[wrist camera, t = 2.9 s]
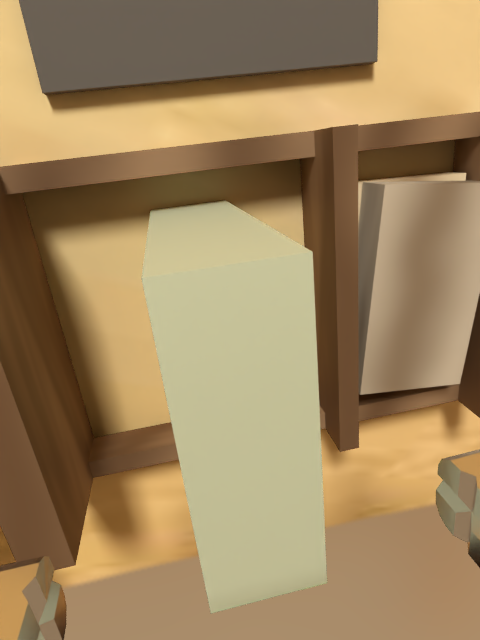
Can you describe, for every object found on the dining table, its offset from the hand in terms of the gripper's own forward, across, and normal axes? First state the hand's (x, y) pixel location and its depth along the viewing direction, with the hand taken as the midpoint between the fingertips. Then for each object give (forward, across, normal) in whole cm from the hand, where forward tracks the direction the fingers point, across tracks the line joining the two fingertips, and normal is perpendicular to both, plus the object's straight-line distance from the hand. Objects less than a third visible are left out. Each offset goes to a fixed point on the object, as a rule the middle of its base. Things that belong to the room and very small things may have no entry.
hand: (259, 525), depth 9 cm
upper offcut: (+12, -11, 0) cm, 16 cm away
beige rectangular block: (+14, 0, 0) cm, 14 cm away
